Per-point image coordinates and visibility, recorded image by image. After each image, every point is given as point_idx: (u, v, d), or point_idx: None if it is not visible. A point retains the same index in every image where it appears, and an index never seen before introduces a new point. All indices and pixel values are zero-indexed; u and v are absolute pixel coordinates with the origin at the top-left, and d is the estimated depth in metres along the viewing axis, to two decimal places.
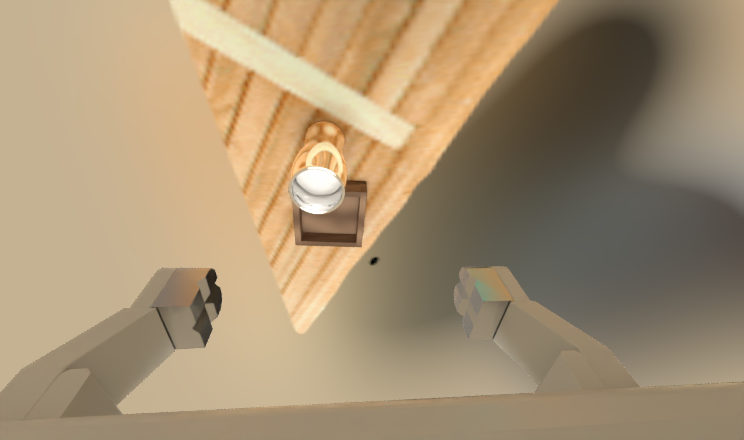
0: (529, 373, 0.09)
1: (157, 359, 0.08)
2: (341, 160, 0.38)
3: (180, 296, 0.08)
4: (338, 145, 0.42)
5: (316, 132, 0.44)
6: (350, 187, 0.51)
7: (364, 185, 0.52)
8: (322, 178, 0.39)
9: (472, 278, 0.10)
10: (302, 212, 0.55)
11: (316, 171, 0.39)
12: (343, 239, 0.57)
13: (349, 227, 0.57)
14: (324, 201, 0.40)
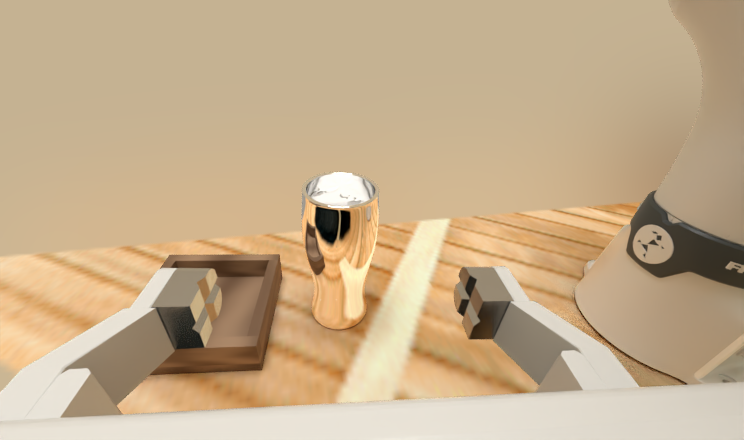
0: (529, 373, 0.09)
1: (157, 359, 0.08)
2: (366, 244, 0.26)
3: (180, 296, 0.08)
4: (359, 283, 0.30)
5: None
6: (264, 329, 0.29)
7: (260, 357, 0.27)
8: None
9: (472, 278, 0.10)
10: (223, 277, 0.36)
11: None
12: None
13: None
14: None
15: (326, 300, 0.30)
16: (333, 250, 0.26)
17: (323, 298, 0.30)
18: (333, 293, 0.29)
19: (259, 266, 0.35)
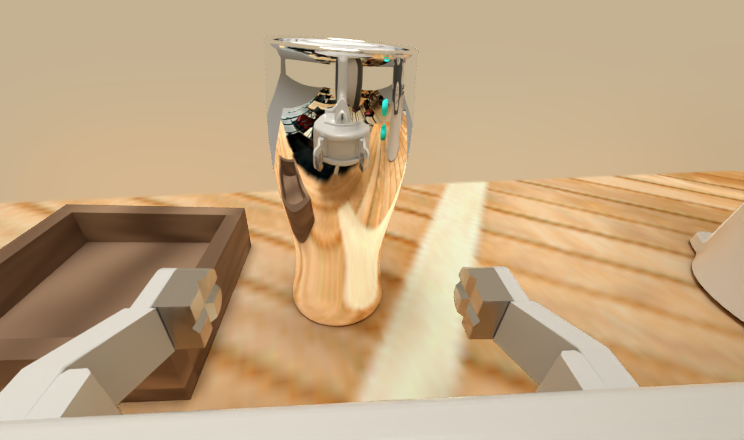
0: (529, 373, 0.09)
1: (157, 359, 0.08)
2: (391, 155, 0.13)
3: (180, 296, 0.08)
4: (374, 243, 0.17)
5: None
6: None
7: (185, 377, 0.14)
8: None
9: (472, 278, 0.10)
10: (154, 243, 0.23)
11: None
12: None
13: None
14: None
15: (315, 274, 0.17)
16: (326, 161, 0.13)
17: (310, 269, 0.17)
18: (327, 260, 0.16)
19: (212, 226, 0.22)
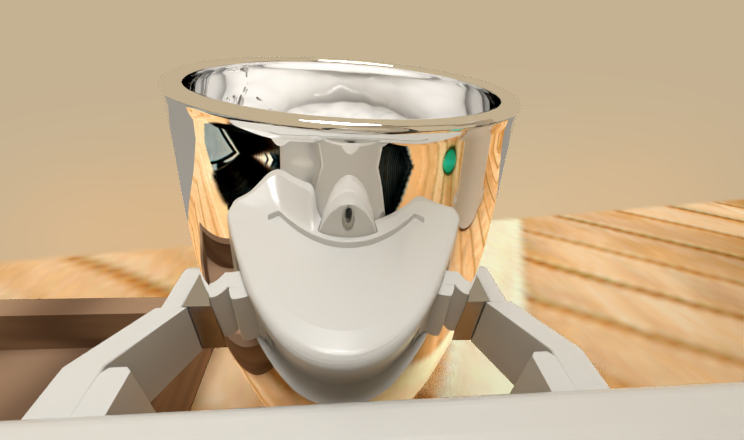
0: (505, 374, 0.09)
1: (186, 358, 0.08)
2: (452, 316, 0.06)
3: None
4: None
5: None
6: None
7: None
8: None
9: None
10: (71, 350, 0.15)
11: None
12: None
13: None
14: None
15: None
16: (313, 355, 0.05)
17: None
18: None
19: None
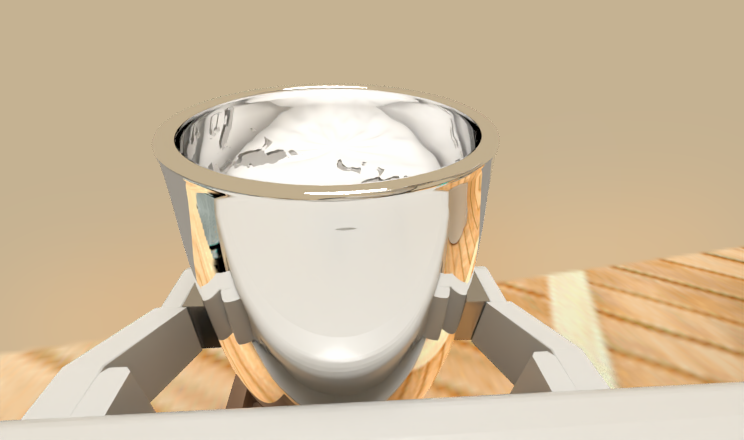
0: (506, 374, 0.09)
1: (186, 358, 0.08)
2: (444, 339, 0.07)
3: None
4: None
5: None
6: None
7: None
8: None
9: None
10: None
11: None
12: None
13: None
14: None
15: None
16: (310, 385, 0.06)
17: None
18: None
19: None
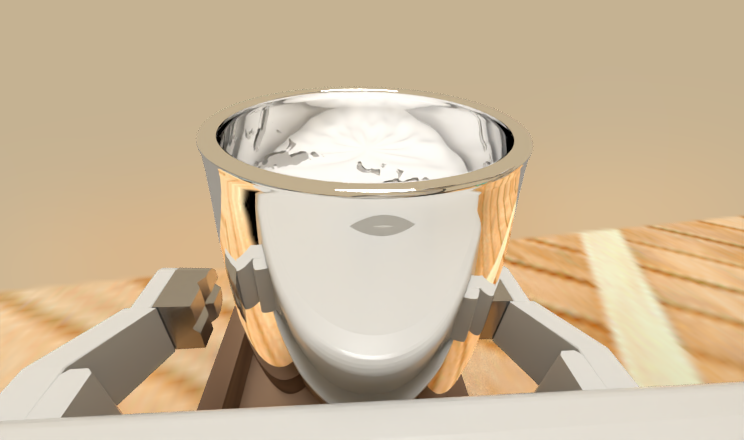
0: (529, 373, 0.09)
1: (158, 359, 0.08)
2: (473, 338, 0.07)
3: (180, 296, 0.08)
4: None
5: None
6: None
7: None
8: None
9: None
10: None
11: None
12: None
13: None
14: None
15: None
16: (345, 382, 0.06)
17: None
18: None
19: None
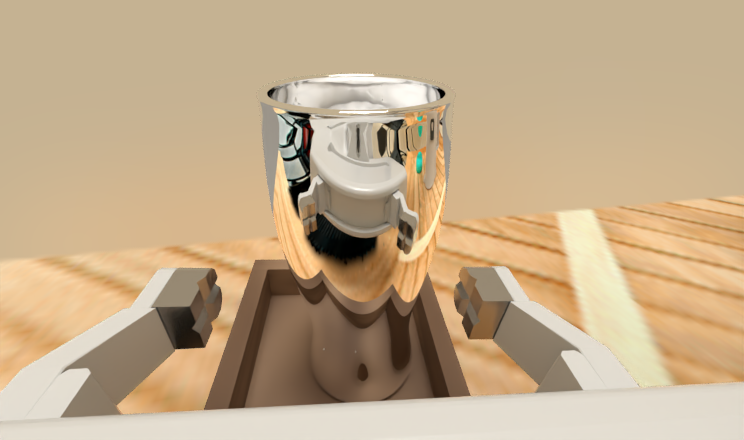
0: (529, 373, 0.09)
1: (157, 359, 0.08)
2: (426, 226, 0.11)
3: (180, 296, 0.08)
4: (404, 316, 0.14)
5: None
6: None
7: None
8: None
9: (472, 278, 0.10)
10: None
11: None
12: (239, 389, 0.15)
13: None
14: None
15: (335, 351, 0.15)
16: (344, 245, 0.10)
17: (329, 346, 0.15)
18: (349, 340, 0.14)
19: None
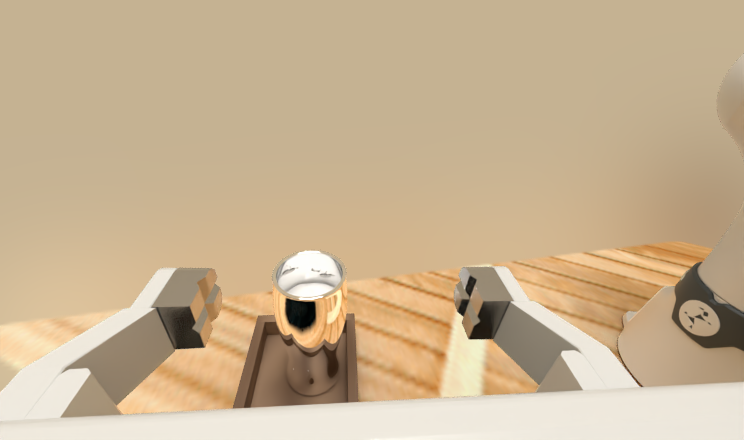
0: (529, 373, 0.09)
1: (157, 359, 0.08)
2: (334, 325, 0.28)
3: (180, 296, 0.08)
4: (330, 355, 0.31)
5: None
6: None
7: None
8: None
9: (472, 278, 0.10)
10: None
11: None
12: (250, 387, 0.32)
13: (267, 405, 0.32)
14: None
15: (299, 370, 0.32)
16: (302, 334, 0.27)
17: (296, 368, 0.32)
18: (305, 365, 0.31)
19: None
